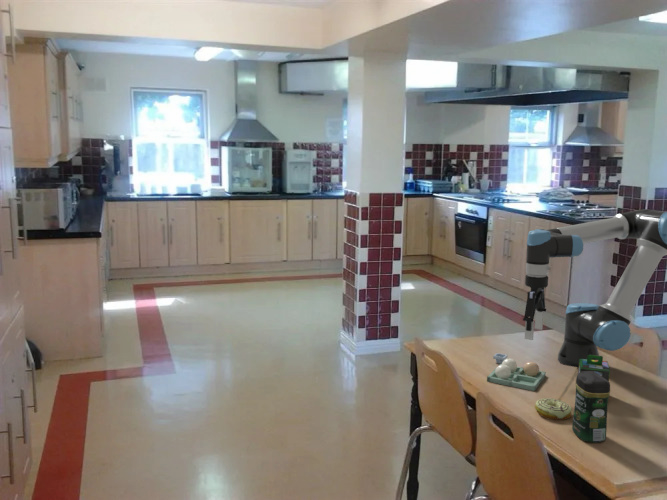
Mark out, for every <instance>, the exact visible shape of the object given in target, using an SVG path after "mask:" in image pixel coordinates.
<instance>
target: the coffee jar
mask: <svg viewBox="0 0 667 500" xmlns="http://www.w3.org/2000/svg"><path fill="white" fill-rule="evenodd" d="M610 395H611V382H610V380H609V381H607V380H606V379H605V378H603V377H602V376H600V375H599V374H597V373H595V372H594V371H581V372H580V373H579V374H578V373H577V375H576V378H575V397H574V408H573V417H572V425H571V429H572V431H573V432H574V434H575V435H576V436H577V438H579V439H581V441H583V442H589V443H594V444H596V443H602V442H604V441H605V440H606V439H607V428H608V427H607V422H608V421H607V420H608V405H609V404H608V403H609V397H610Z"/></svg>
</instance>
